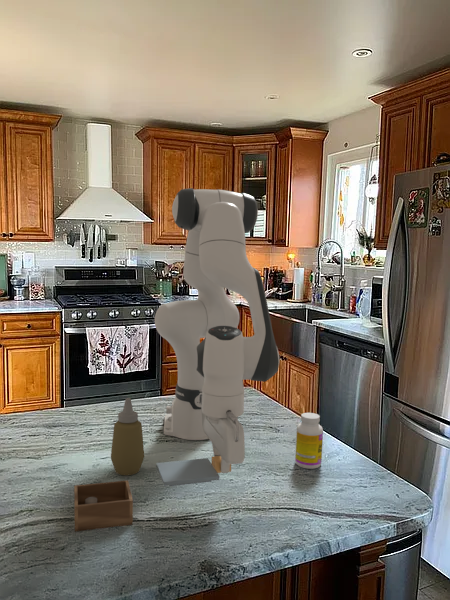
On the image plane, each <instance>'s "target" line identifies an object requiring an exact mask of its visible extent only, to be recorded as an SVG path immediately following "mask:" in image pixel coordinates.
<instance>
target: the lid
mask: <svg viewBox="0 0 450 600" xmlns="http://www.w3.org/2000/svg"><path fill="white" fill-rule="evenodd" d="M220 462H221V456H214V455H213V456H211V461H210V459H209V458H208V457H205V458H195V459H184V460H183V459H182V460H174V461H173V460H172V461H164V462H156V463H155V464H156V466H155V467H156V469H157V472H158V475H159V477H160V478H161V479H160V480H161V482H162V485H163V486H164V487H166V486H169V487H174V486H183V485H192V484H193V485H194V484H202V483H210V482H212V481H220V473H221V474H223V473H222V472H221V471H220ZM231 472H232V464H230V471H229V472H228V473H231ZM212 483H213V482H212Z"/></svg>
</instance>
